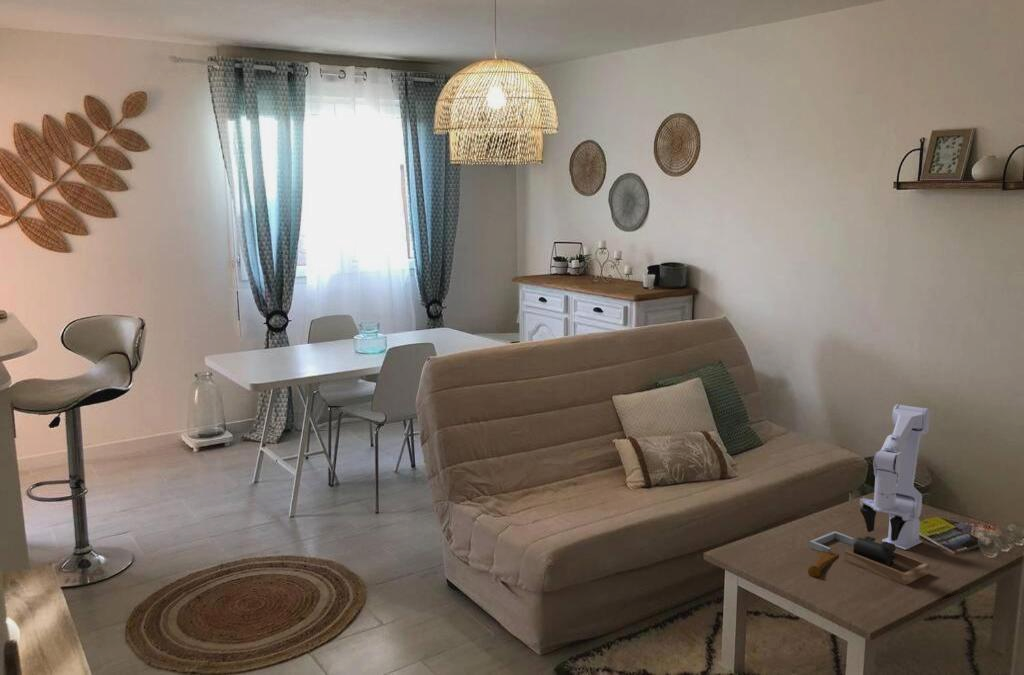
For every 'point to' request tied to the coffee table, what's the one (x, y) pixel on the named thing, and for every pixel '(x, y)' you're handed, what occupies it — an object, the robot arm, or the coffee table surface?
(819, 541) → the frame
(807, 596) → the coffee table surface
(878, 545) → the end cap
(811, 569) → the primitive tool
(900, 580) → the cubby
